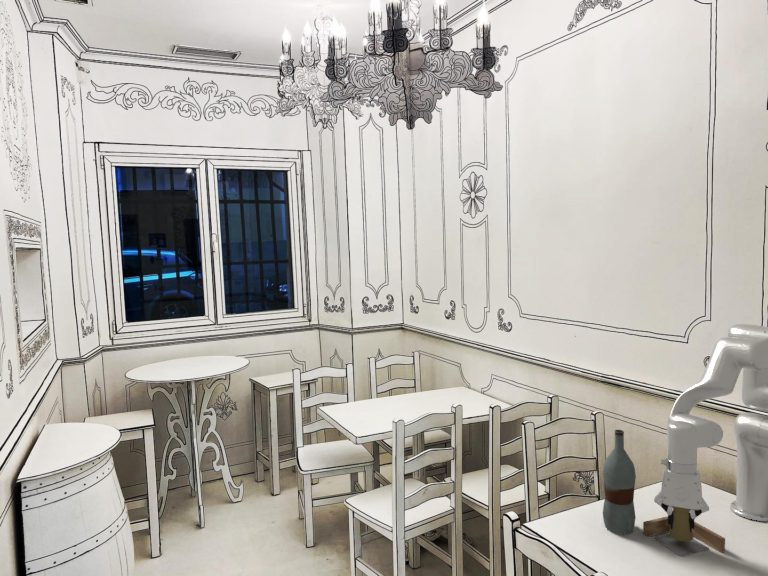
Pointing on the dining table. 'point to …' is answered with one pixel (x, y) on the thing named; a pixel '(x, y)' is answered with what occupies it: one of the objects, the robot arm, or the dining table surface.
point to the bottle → (619, 489)
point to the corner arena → (683, 546)
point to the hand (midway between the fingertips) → (680, 527)
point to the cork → (681, 525)
